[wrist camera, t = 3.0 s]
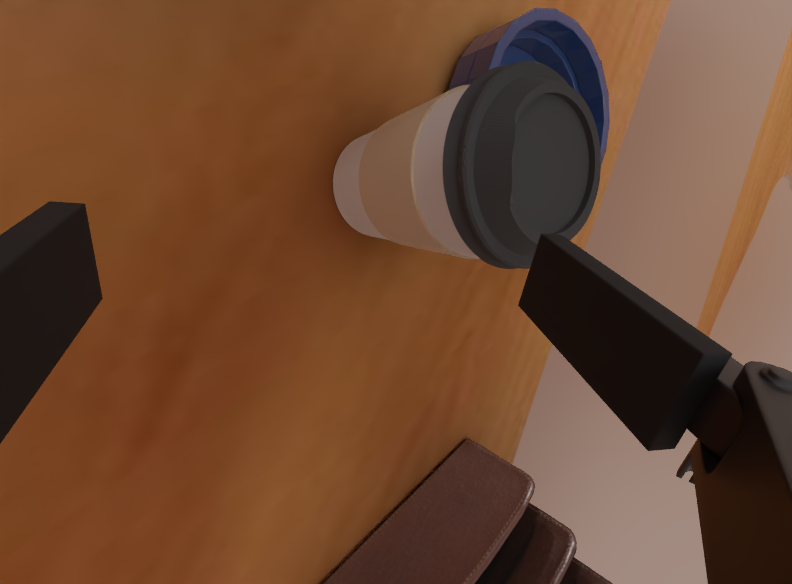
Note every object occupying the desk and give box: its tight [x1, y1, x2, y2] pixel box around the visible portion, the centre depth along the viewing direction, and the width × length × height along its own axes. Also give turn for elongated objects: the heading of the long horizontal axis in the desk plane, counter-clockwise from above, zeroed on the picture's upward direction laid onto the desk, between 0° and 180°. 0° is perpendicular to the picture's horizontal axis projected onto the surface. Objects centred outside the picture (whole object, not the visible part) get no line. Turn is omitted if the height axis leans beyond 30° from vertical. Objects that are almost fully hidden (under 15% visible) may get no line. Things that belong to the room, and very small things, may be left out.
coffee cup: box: [333, 61, 601, 269], centre depth 24 cm, size 9×9×15 cm
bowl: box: [448, 8, 609, 164], centre depth 35 cm, size 15×15×4 cm
